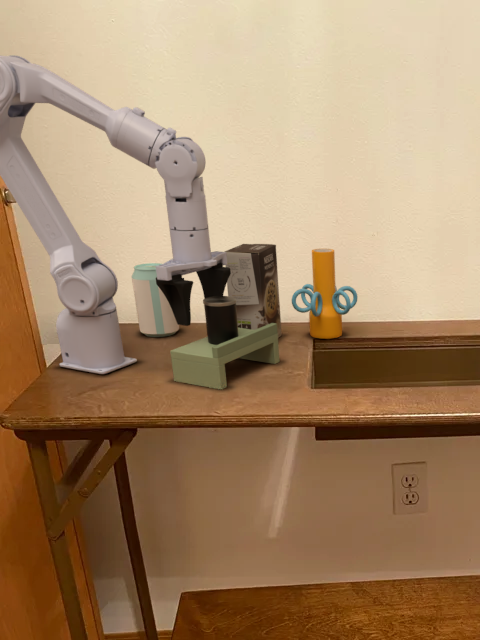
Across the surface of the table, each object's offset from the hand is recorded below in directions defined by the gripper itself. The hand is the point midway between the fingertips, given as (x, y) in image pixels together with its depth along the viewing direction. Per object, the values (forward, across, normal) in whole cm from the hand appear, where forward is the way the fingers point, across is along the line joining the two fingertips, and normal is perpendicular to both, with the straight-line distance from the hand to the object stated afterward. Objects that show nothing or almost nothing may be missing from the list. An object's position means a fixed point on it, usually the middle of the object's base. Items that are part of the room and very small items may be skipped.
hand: (199, 319), depth 126 cm
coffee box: (+8, +17, +1) cm, 19 cm away
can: (+8, +13, +20) cm, 25 cm away
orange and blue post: (+8, +26, -8) cm, 28 cm away
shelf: (+8, 0, -5) cm, 9 cm away
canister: (+3, 0, -4) cm, 5 cm away
